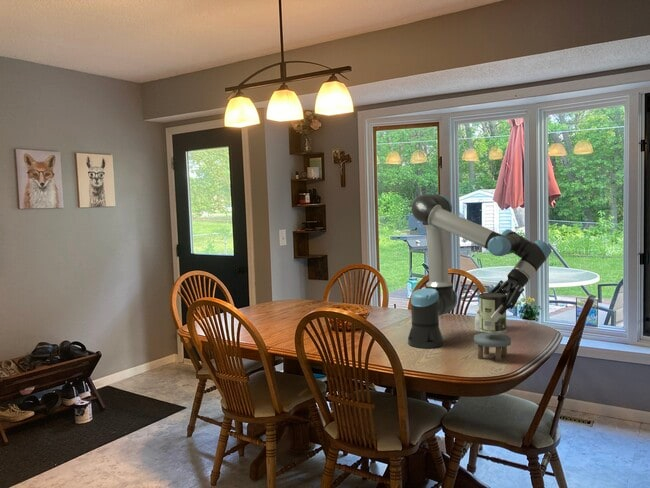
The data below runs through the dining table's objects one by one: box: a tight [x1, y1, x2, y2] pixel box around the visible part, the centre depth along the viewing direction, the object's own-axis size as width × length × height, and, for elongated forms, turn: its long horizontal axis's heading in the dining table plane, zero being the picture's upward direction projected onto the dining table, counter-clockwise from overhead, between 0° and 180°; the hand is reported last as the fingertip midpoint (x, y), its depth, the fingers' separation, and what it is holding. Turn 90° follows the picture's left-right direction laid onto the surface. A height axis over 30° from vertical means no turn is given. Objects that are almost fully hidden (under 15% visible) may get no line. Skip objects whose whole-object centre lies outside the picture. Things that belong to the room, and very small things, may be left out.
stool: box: [473, 332, 512, 363], centre depth 209 cm, size 14×14×8 cm
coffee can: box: [478, 292, 507, 334], centre depth 207 cm, size 10×10×14 cm
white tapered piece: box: [474, 291, 488, 333], centre depth 252 cm, size 13×13×18 cm
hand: (485, 316), depth 207 cm, fingers closed on coffee can, 10 cm apart
